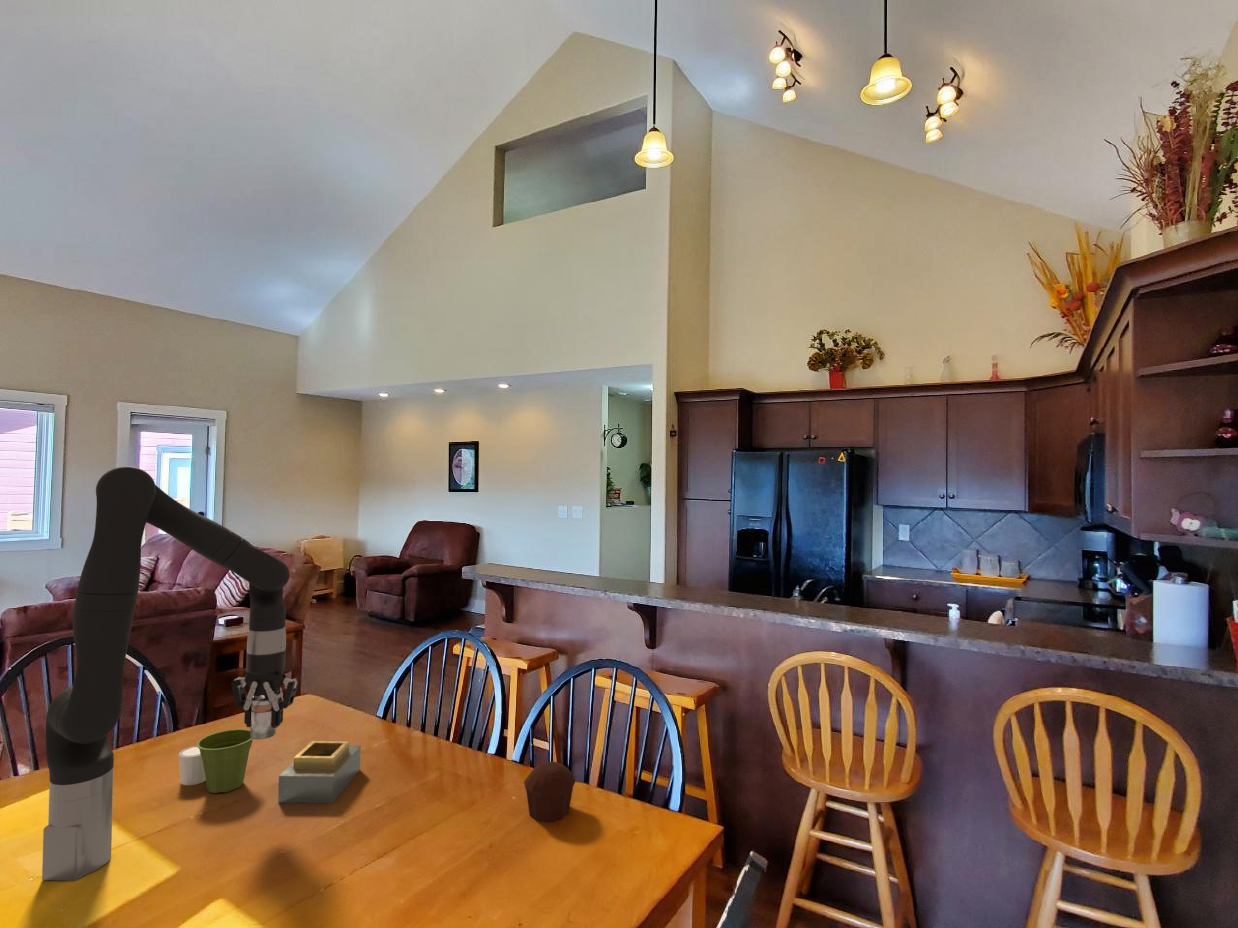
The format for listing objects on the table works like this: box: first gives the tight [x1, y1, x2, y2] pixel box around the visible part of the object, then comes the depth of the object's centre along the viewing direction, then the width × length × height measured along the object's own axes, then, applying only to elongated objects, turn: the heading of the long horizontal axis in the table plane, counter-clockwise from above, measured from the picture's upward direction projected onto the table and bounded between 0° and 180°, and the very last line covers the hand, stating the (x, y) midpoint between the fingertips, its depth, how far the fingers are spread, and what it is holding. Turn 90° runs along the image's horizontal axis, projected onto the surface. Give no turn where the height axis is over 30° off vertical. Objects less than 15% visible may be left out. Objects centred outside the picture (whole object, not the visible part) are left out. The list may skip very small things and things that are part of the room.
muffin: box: [523, 761, 576, 823], centre depth 141 cm, size 12×11×10 cm
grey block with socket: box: [277, 740, 362, 804], centre depth 151 cm, size 16×12×8 cm
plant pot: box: [195, 728, 254, 794], centre depth 149 cm, size 12×12×11 cm
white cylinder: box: [178, 745, 206, 786], centre depth 152 cm, size 7×7×7 cm
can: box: [249, 695, 277, 741], centre depth 139 cm, size 5×5×9 cm
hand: (263, 725), depth 139 cm, fingers closed on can, 5 cm apart
